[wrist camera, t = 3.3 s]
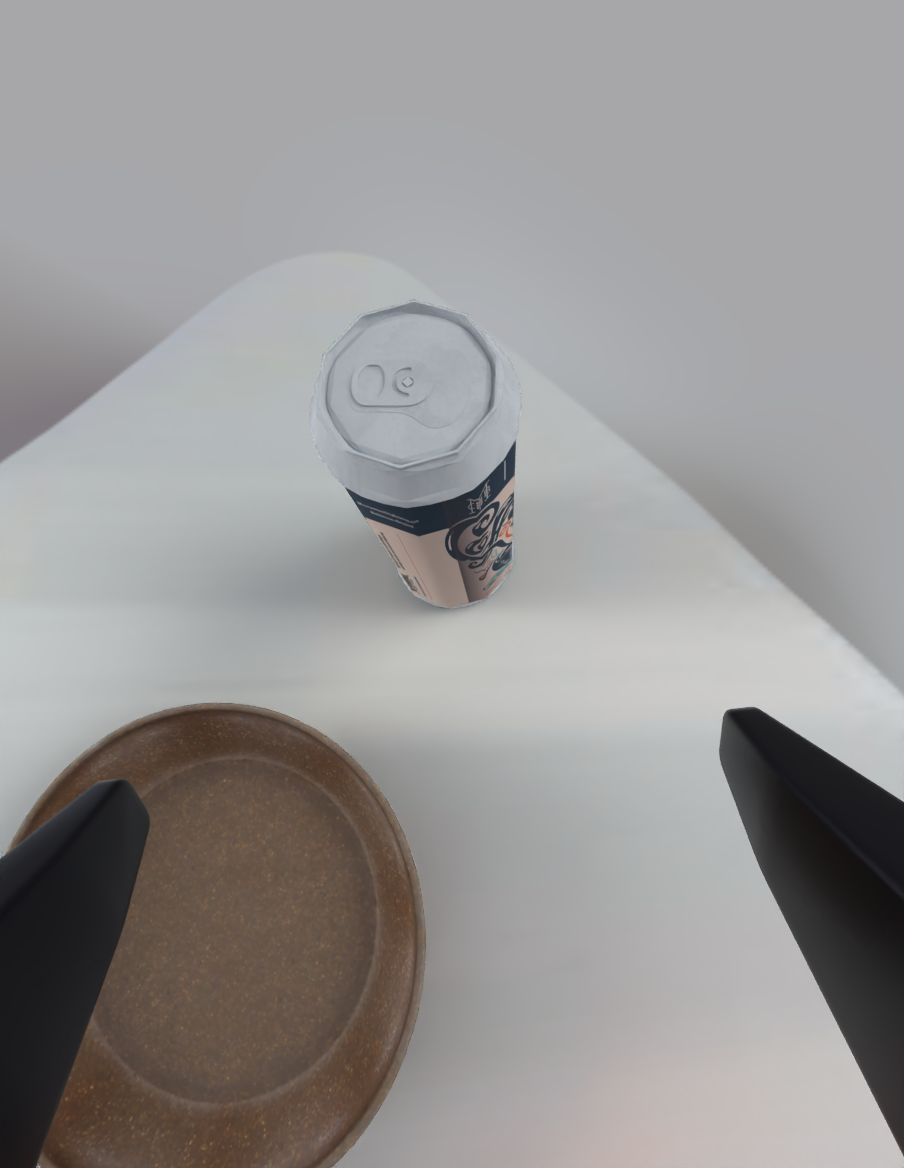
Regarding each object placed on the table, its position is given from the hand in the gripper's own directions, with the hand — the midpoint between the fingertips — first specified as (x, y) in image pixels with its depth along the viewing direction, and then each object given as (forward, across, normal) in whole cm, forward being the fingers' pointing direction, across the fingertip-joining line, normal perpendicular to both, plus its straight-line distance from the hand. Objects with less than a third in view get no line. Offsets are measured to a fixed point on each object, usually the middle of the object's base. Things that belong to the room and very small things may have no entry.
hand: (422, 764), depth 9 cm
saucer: (+6, +9, +13) cm, 17 cm away
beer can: (+15, 0, +4) cm, 16 cm away
